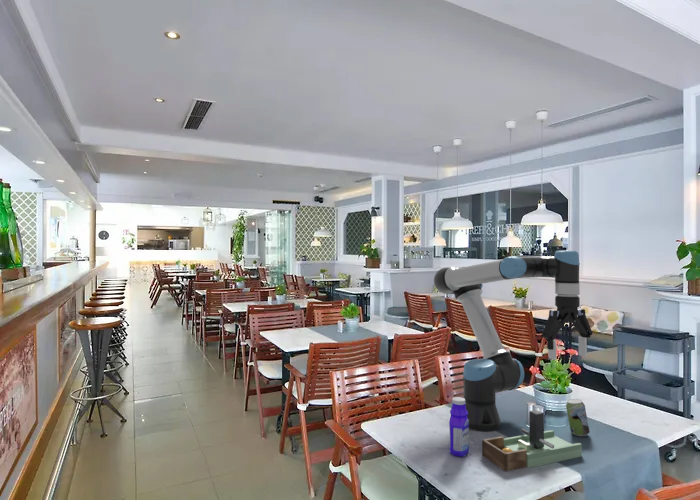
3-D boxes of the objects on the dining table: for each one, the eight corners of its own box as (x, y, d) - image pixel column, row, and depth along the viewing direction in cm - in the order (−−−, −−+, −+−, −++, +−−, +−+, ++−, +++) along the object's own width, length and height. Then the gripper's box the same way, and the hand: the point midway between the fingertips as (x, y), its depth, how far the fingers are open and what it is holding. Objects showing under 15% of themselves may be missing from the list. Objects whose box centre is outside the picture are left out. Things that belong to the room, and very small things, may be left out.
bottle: (464, 459, 134) (464, 403, 134) (446, 455, 137) (446, 400, 137) (471, 450, 140) (471, 397, 140) (454, 446, 143) (454, 394, 143)
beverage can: (592, 438, 150) (591, 404, 150) (569, 437, 151) (569, 402, 151) (586, 431, 156) (585, 398, 156) (564, 430, 157) (563, 397, 158)
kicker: (525, 437, 144) (525, 405, 144) (556, 454, 132) (556, 418, 132) (508, 440, 142) (508, 407, 142) (538, 457, 130) (537, 421, 130)
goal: (502, 451, 139) (502, 436, 140) (526, 467, 129) (526, 450, 129) (482, 455, 137) (482, 439, 137) (505, 471, 127) (505, 454, 127)
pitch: (552, 441, 148) (551, 429, 148) (581, 456, 136) (581, 444, 136) (500, 451, 140) (500, 438, 140) (528, 467, 129) (528, 454, 129)
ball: (498, 451, 133) (505, 443, 134) (499, 456, 135) (506, 447, 136) (508, 459, 131) (515, 451, 132) (509, 464, 133) (516, 455, 134)
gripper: (585, 293, 156) (585, 352, 155) (530, 295, 147) (530, 357, 147) (603, 295, 149) (604, 356, 148) (547, 297, 140) (547, 362, 140)
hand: (567, 357), depth 148 cm, fingers open, 13 cm apart
